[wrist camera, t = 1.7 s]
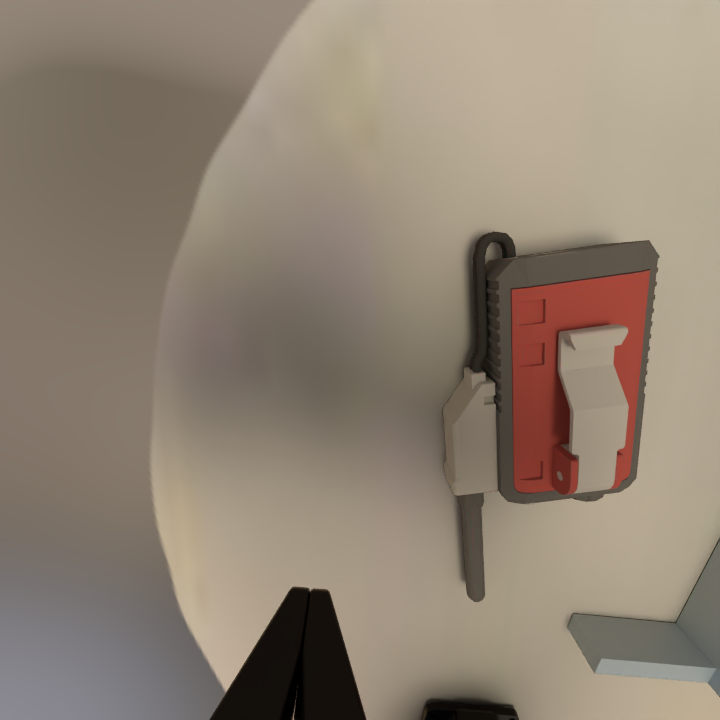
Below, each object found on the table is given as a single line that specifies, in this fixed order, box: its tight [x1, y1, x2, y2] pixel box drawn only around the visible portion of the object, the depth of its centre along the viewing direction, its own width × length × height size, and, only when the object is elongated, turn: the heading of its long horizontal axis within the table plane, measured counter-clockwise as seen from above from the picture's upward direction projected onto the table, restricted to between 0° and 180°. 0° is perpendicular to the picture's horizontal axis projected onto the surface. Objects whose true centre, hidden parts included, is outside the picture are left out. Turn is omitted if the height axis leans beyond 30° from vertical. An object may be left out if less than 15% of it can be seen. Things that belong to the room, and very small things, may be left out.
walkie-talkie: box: [443, 232, 660, 602], centre depth 16 cm, size 9×4×20 cm
